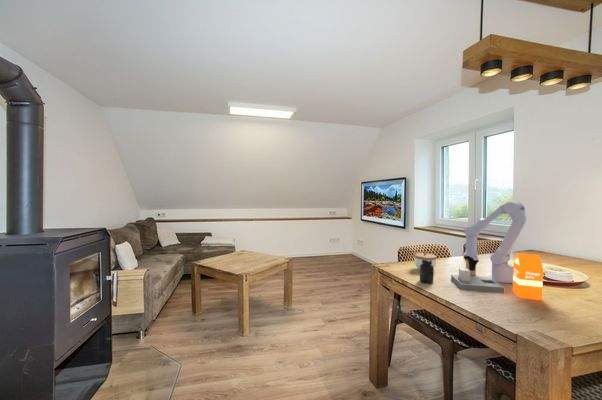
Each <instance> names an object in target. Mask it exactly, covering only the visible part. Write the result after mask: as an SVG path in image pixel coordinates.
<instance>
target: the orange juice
mask: <svg viewBox="0 0 602 400" xmlns="http://www.w3.org/2000/svg"><path fill="white" fill-rule="evenodd" d="M513 268H514V270H513V283H512V293H513V294H515V295H516V297H518V298H520V299H529V300H538V301H542V300H543V288H544V287H543V284H544V283H543V282H544V281H543V280H544V279H543V278H544V268H543V263H542V259H541V255H540V254H535V253H534V254H533V253H520V252H518V253H516V256H515V259H514V260H513Z"/></svg>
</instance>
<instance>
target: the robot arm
mask: <svg viewBox="0 0 602 400" xmlns="http://www.w3.org/2000/svg"><path fill="white" fill-rule="evenodd" d="M502 215H507V216H509V217H510V219H511V220H512V222H511V223H510V226H509V228H508V230H507V231H506V234H505V236H504V237H503V239H502V241H501V243H500V245H499V247H498V248H496V250H495V252H494V253H492V254H491V255H490V261H491V276H489V277H490V278H491V279H493V280H494V281H496V282H497V283H507V284H513V270H514V265H512V264H509V263H508V262H509V261H510V259H511V253H512V248H513V247H514V245H515V243H516V241H517V239H518V237H519V235H520V233H521V232H522V230H523V228H524V226H525V225H526V222H527V216H526V207H525V206H524V205H523V204H522V203H521V202H520V201H507V202H505V203H504V204H502V205H500V206H498V208H496V209H495V210H494V211H492V212H491V213H490V214H488V215H487V216H486V217H485V218H484V217H483V218H482V217H481V218H477V219H476V221H475V222H474V223H471V224H470V226H466V227H465V229H464V235H465V251H464V253H463V254H462V255H463V259H464V260H465V262H466V259H467V260H468V262H469V268H470V270H471V271H474V270H475V267H476V268H477V264H478V262H479V261H480V260H479V258H478V254H477V253H478V236H479V235H480V233H481V232H483V231H484V230H485V229H487V228H489V226H490V223H491V222H493V221H494V220H495V219H498V218H499V217H500V216H502Z"/></svg>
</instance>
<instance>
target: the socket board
mask: <svg viewBox="0 0 602 400" xmlns="http://www.w3.org/2000/svg"><path fill="white" fill-rule="evenodd" d="M450 277H451V278H450V280H451V281H452V282H454V283H455V285H457V287H458V288H459V289H460V290H465V291H466V290H467V291H478V292H479V291H480V292H490V293H505V287H504V286H503V285H501V284H500V283H499V282H496V281H494V280H493V279H491V278H490V277H491V276H478V275H474V276H473V275H471V274H470V270H468V269H466V268H463V267H462V268H461V267H459V269H458V274H451V275H450Z"/></svg>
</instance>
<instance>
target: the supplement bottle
mask: <svg viewBox="0 0 602 400" xmlns="http://www.w3.org/2000/svg"><path fill="white" fill-rule="evenodd" d="M431 264H432V260H429V259H422V264H421V265H420V270H419V282H421V283H422V284H428V285H429V284H430V285H431V284H433V283H434V274H435V273H434V272H435V271H434V268H435V267H433V266H432V265H431Z"/></svg>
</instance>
